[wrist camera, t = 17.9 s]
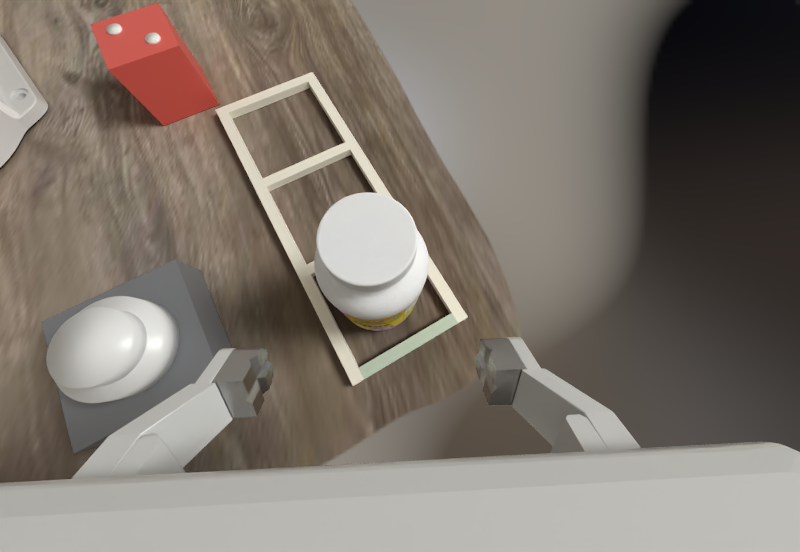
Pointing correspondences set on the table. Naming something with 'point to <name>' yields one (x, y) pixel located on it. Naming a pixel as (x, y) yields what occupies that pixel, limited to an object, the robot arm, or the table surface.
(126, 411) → the dome base
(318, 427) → the table surface
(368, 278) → the supplement bottle
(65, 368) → the dome
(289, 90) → the track
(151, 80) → the die
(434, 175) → the table surface
